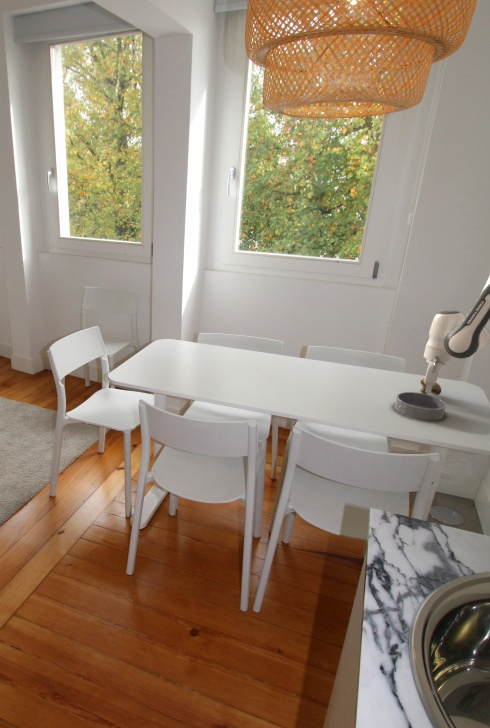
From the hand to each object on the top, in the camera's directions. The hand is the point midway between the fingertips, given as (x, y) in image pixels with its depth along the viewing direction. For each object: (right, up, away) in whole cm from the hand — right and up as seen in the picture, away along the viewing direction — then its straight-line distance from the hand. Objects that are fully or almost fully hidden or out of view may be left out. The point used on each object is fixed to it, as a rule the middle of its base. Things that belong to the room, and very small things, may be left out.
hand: (429, 388), depth 177 cm
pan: (-11, -8, -12) cm, 18 cm away
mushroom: (0, -2, +1) cm, 2 cm away
